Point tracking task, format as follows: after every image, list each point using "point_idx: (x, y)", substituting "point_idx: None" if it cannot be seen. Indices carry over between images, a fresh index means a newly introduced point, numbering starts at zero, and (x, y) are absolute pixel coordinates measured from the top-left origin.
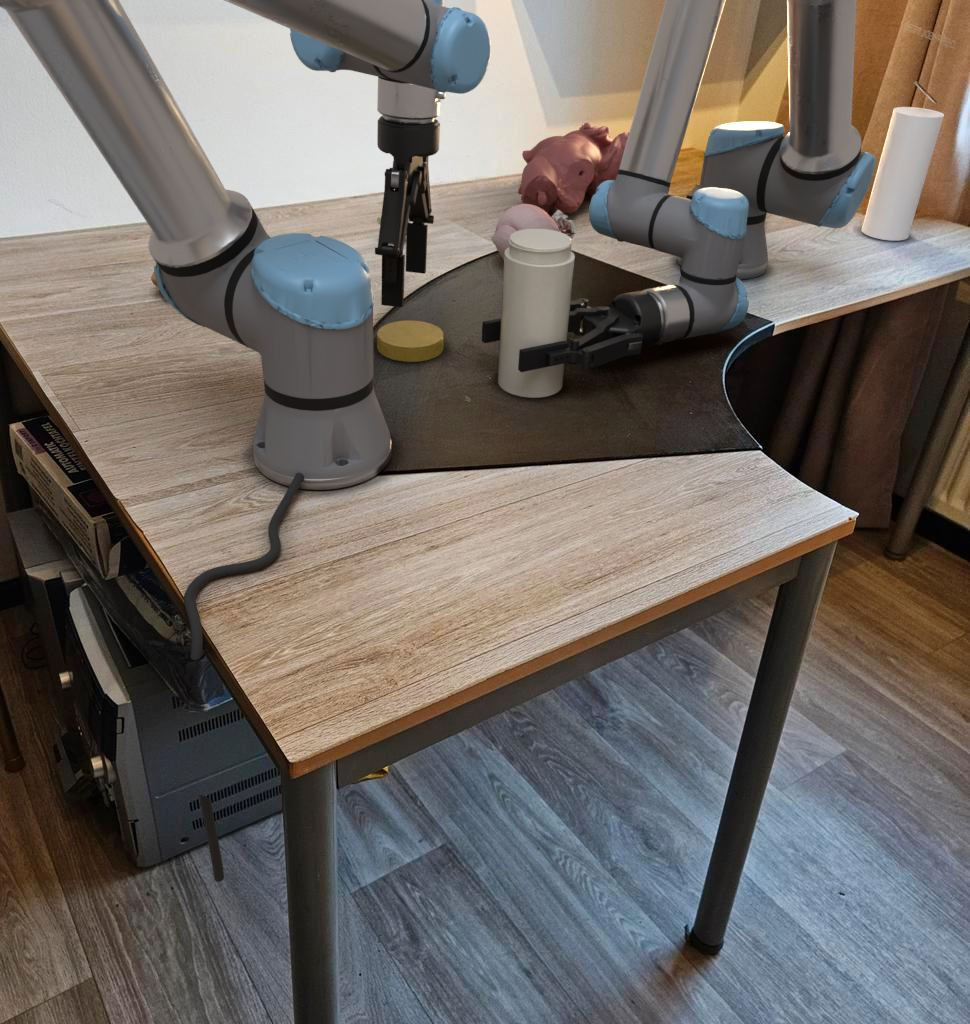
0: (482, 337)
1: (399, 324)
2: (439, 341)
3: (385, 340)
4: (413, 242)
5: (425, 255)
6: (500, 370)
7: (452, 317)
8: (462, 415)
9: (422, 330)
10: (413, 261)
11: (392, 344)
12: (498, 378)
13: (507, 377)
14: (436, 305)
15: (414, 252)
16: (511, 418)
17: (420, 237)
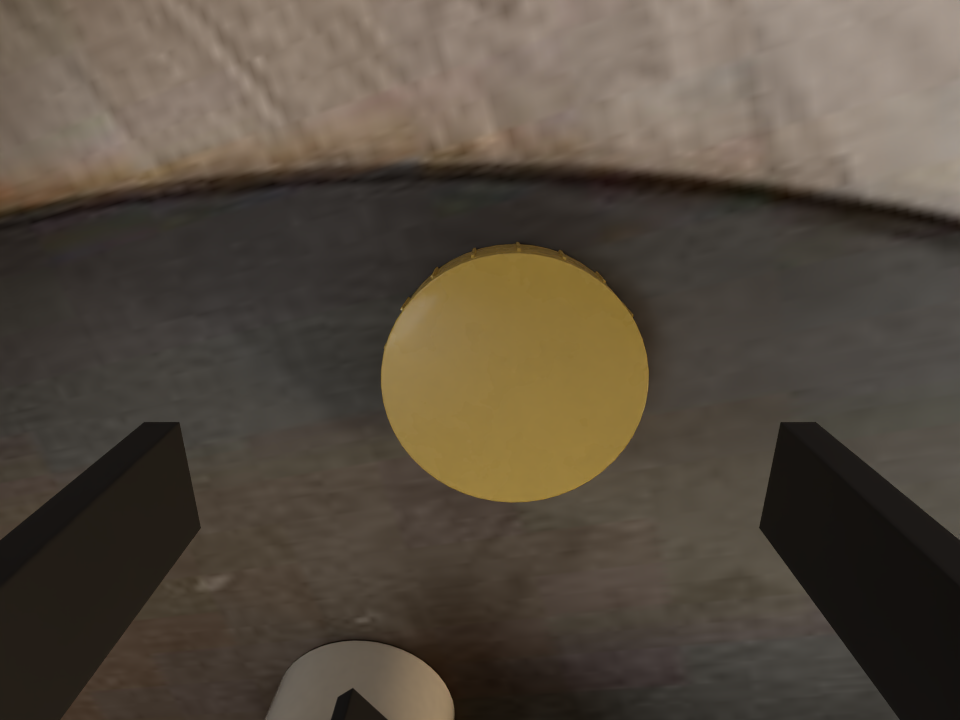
0: (345, 704)
1: (596, 326)
2: (477, 495)
3: (418, 308)
4: (902, 603)
5: (821, 612)
6: (300, 690)
7: None
8: None
9: (553, 425)
10: (809, 506)
11: (390, 342)
12: (326, 657)
13: (274, 705)
14: (949, 381)
15: (846, 554)
16: (154, 685)
17: (924, 695)
